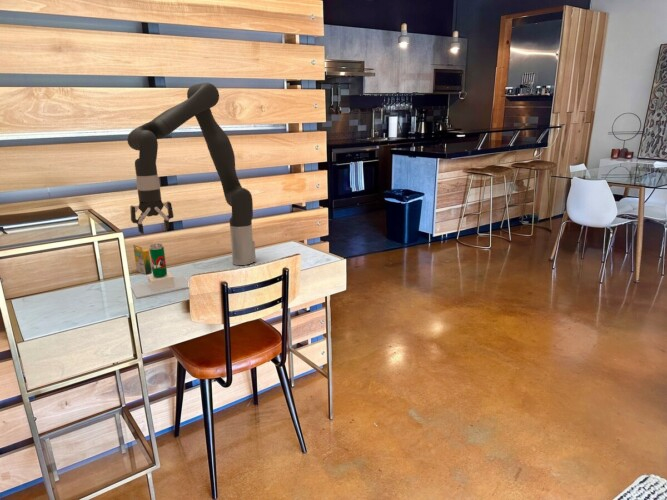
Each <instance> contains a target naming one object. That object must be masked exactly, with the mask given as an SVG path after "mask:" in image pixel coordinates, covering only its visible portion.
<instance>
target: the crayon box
mask: <svg viewBox="0 0 667 500" xmlns="http://www.w3.org/2000/svg"><path fill="white" fill-rule="evenodd" d="M132 247H133V254H134V259H135V260H134V261H135V268H136V272H139V273H141V274H142V275H146V276H147V275H149V274H153V272H152V265H151V257H150V250H148V249H146V248H143V247H141V246H139V245H136V244H133V246H132Z"/></svg>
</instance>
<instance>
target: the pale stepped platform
mask: <svg viewBox="0 0 667 500" xmlns="http://www.w3.org/2000/svg"><path fill="white" fill-rule="evenodd" d="M146 278H147V281H146V282H142V283H136V284H131V285H132V289H131V291H132V293H133V295H134V296H135V298H136V299H137V300H139V299H144V298H149V297H154V296H158V295H163V294H168V293H173V292H177V291H183V290H187V289H189V288H188V281H189V280H188V279H187V278H186V277H185V276H184V275H178V276H174V275H173V274H172V273H171V272H170V271H169V270H167V275H166V276H164V277H160V278H157V277H154V276H153V273H149V274H146Z"/></svg>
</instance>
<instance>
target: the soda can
mask: <svg viewBox="0 0 667 500" xmlns="http://www.w3.org/2000/svg"><path fill="white" fill-rule="evenodd" d="M149 255H150V263H151V271H152V274H153V276H154V277H157V278H160V277H164V276H166V275H167V271H168V270H167V262H166V253H165V247H164V245H163V244H162V243H154V244H151V245H149Z"/></svg>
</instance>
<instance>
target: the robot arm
mask: <svg viewBox="0 0 667 500" xmlns="http://www.w3.org/2000/svg"><path fill="white" fill-rule="evenodd" d="M186 98H187V99H185V100H184V101H182V102H181V103H178V104H176V105H174V106H172V107H170V108H169V109H166V110H165V111H163V112H162V113H159V115H158V116H156V117H154V118H153V119H152V120H151V121H149V122H146V123H144V124H142V125H140V126H138V127H136V128H134V129H132V130H131V131H130V132H129V134H128V136H127V139H126V140H127V141H126V142H127V144H128V146H129V147H130V148H131V149H133V150H135V151H138V152H139V154H138V158H136V159H135V161H134V168H135V175H136V181H135V182H136V189H137V195H138V197H137V198H138V205H130V207H129V209H130V221H131V222H132V223H133V224H137V231H138V233H140V235H144V233H145V232H144V226H143V222H144V220H145V219H146V217H152V216H159V215H160V216H161V217H162V219H163V226H164V230H165V231H169V229H170V220H171V219H173V218H174V216H175V215H174V212H173V206H172V202H171V201H169V200H168V201H166V202H163V201H162V195H161V185H160V178H159V176H158V175H159V174H158V169H157V158H158V150H159V147H158V145H159V142H158V140H159V139H164V138H166V137H167V136H169V135H170V134H171V133H173V132H175V130H177V129H178V128H179V127H181V126H182V125H183V124H185V123H187V122H188V121H189V120H191V119H192V118H194V117H195V120H196V121H197V123H198V125H199V128H200V130H201V134H202V136H203V137H204V138H203V139H204V141H205V143H206V147H207V150H208V151H209V152H208V153H209V154H210V157H211V161H212V163H213V165H214V168H215V170H216V172H217V175H218V177H219V180H220V182H221V183H220V184H221V188H222V190H223V194H224V198H225V202H226V203H227V204H228V206H230V207H231V217H230V218H229V230H230V245H231V257H232V258H231V260H232V265H234V264H235V265H234V266H238V265H244V264H250V263H253V262H255V263H257V262H256V260H257V259H256V244H255V243H256V241H255V240H254V238H253V223H252V220H253V218H254V210H253V209H254V208H253V205H254V204H253V196H252V194H251V193H252V192H250V190H248V189H247V188H245V187H242V184H241V183H240V180H239V178H238V175H237V172H236V157H235V156H236V155H235V151H234V149H233V145H232V144H231V141H230V138H229V136H228V134H226V132H225V131H224V130H223V128H221V126H220V125H219V124H218V122H217V121H216V120H215V117H214V115H213V112H212V109H211V108H213V107H215V106H216V105H217V104H218V102H219V100H220V92H219V89H218V88H217V86H215V85H214V84H212V83H210V82H202V83H198V84H197V83H196V84H193V85H190V86H189V88H188V89H187V92H186ZM163 208H165V209H167V214H168V215H167V214H165V213H164V212H163V211H162V210H163ZM138 210H139V211H140V214H139V216H138V217H137V216H136V214H137V212H138ZM136 218H137V219H136ZM253 264H254V263H253ZM250 265H251V264H250Z"/></svg>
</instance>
